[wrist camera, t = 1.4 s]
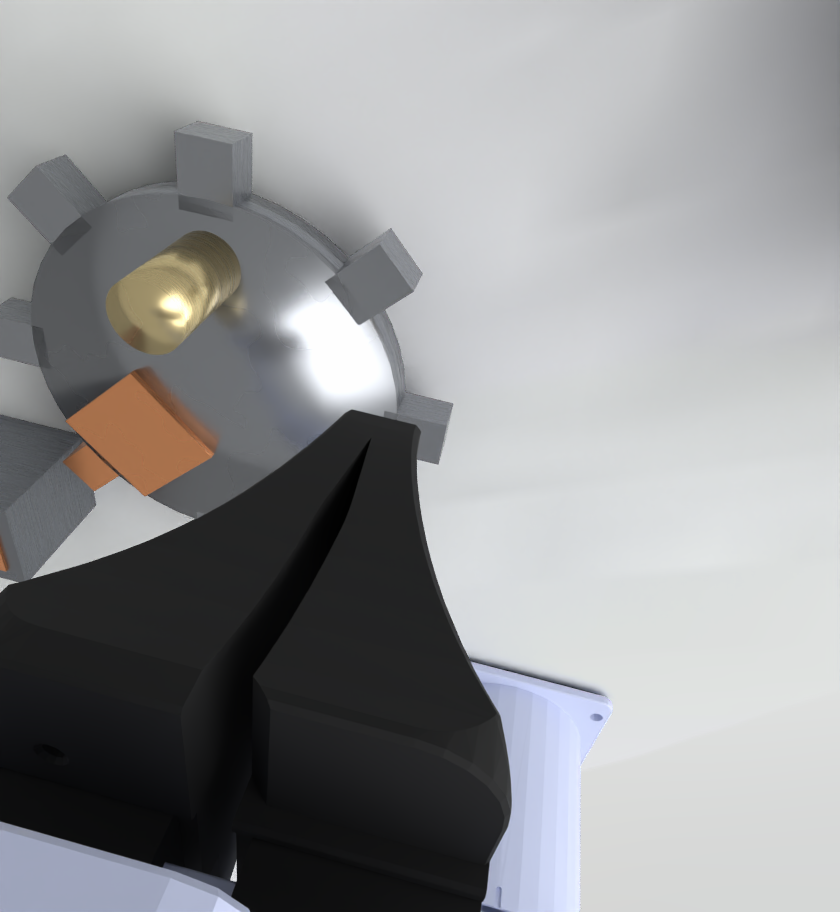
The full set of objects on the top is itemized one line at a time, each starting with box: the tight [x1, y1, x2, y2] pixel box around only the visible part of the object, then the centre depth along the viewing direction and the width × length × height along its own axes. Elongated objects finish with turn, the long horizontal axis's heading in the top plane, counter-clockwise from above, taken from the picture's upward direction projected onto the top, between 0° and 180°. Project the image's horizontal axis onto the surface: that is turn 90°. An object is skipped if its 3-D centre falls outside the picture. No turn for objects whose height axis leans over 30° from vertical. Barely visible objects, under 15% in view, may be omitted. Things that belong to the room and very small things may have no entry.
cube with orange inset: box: [0, 415, 96, 582], centre depth 25 cm, size 4×4×4 cm
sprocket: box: [0, 121, 453, 519], centre depth 19 cm, size 14×14×4 cm
